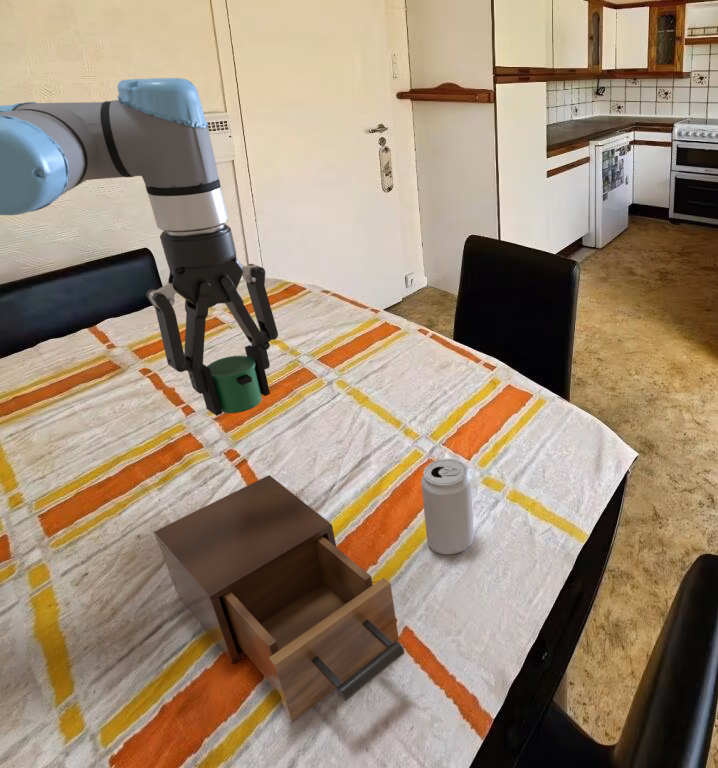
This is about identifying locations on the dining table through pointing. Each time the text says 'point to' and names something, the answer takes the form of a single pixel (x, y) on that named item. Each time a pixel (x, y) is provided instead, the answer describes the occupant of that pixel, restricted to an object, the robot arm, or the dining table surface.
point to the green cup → (236, 383)
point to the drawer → (314, 625)
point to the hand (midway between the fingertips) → (239, 401)
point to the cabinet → (235, 548)
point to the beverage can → (448, 506)
